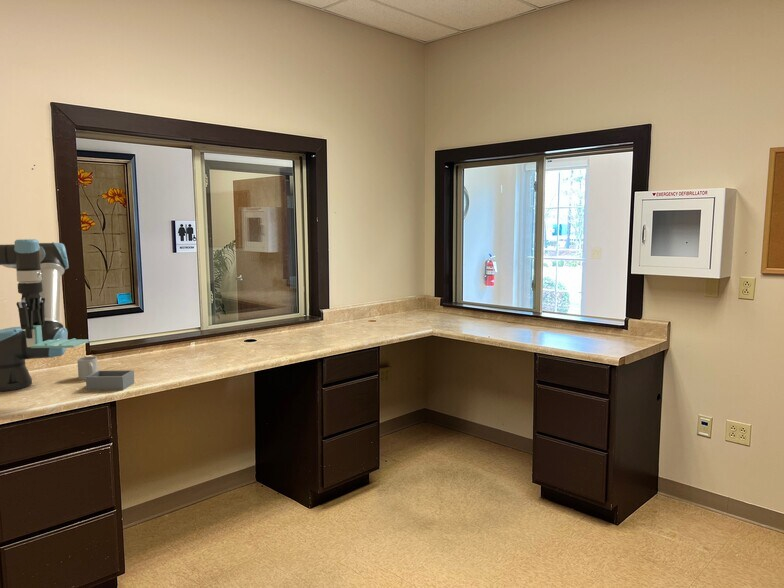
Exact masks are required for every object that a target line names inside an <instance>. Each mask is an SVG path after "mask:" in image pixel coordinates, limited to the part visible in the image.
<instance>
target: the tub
mask: <svg viewBox="0 0 784 588" xmlns="http://www.w3.org/2000/svg"><path fill="white" fill-rule="evenodd" d="M134 384H135V370H133V369H132V370H131V369H129V370H126V369H125V370H122V369H120V370H119V369H118V370H113V369H112V370H111V369H110V370H98V371H97V372H95V373H93V374H91V375H89V376H87V377H86V380H85V385H86V387H85V388H86V391H125V390H126V389H127V388H129V387H130V386H132V385H134Z"/></svg>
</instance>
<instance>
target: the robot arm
mask: <svg viewBox="0 0 784 588" xmlns="http://www.w3.org/2000/svg"><path fill="white" fill-rule="evenodd" d="M0 266H2V267H5V268H9V269H16V282H18V283H17V284H16V285H17V293H18V294H20V295H21V298H20V299H21V300H20V301H17V302H16V306H17V310H18V316H19V323H20V326H12V327H6V328H3V329H2V328H1V329H0V392H9V391H10V392H11V391H16V390H20V389H25V388H27V387H30V386H31V385H32V384H33V381H32V380H33V379H32V376H31V374H30V372H29V371H28V368H27V366H26V360H35V359H52V358H57V357H62V356H64V355H65V353H66V351H67V348H31V346H32V345H35V344H36V341H35V329H33V325H41V328H42V341H43V342H44V341H46V340H57V339H60V338H62V340H69V339H68V333H69V332H68V329H67V328H66V327H64V324H63V323H62V322H60V313H61V312H60V311H61V276H63V275H64V274H65V271H66V270H67V269H69V268H70V267H69V260H68V255H67V249H66V246H65V243H62V242H53V241H52V242H39V240H38V239H36V238H35V239H34V238H33V239H31V238H29V239H28V238H26V239H21V238H19V239H16V240H14V244H12V243H11V244H0ZM25 330H26V331H25ZM26 339H27V344H26Z"/></svg>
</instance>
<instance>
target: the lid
mask: <svg viewBox="0 0 784 588" xmlns="http://www.w3.org/2000/svg"><path fill="white" fill-rule="evenodd" d="M33 329H35V341H36V344H35V345H32V346H31V348H66V349H68V348H73V349H75V348H76V347H79V346H81V345H84V344H86V343H89V342H90V339H82V338H81V339H77V338H75V337H74V338H71V339H68V340H62V338H60V339H57V340H46V341H44V342H43V341H42V328H41V325H33ZM25 331H26V330H25ZM26 344H27V339H26Z"/></svg>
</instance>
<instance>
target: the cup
mask: <svg viewBox="0 0 784 588" xmlns="http://www.w3.org/2000/svg"><path fill="white" fill-rule="evenodd" d="M76 360H77V361H76V362H77V373H78V377H77V378H78V380H80V381H82V380H83V381H86V377H87V376H89V375H91V374H93V373H95V372H97V371H99V369H98V357H97V356H83V357H78V358H77V359H76Z"/></svg>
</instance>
